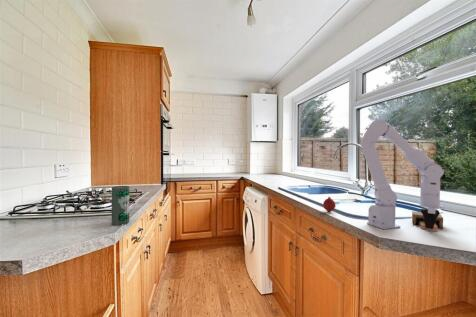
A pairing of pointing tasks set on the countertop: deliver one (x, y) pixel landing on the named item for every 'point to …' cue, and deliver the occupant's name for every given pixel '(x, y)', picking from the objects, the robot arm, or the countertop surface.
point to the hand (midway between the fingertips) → (429, 228)
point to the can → (120, 205)
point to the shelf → (419, 217)
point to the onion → (329, 204)
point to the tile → (422, 226)
